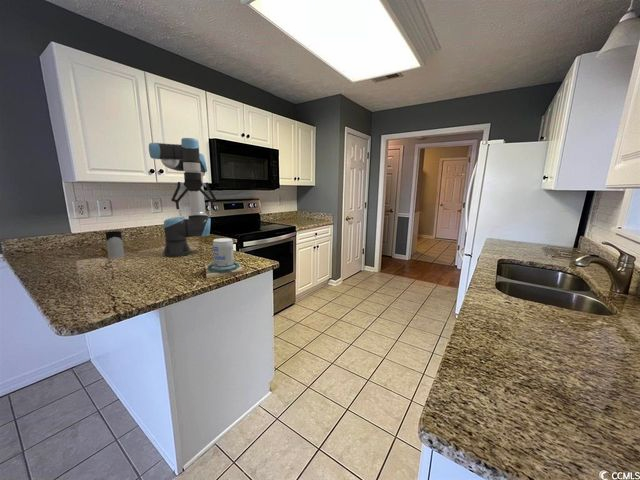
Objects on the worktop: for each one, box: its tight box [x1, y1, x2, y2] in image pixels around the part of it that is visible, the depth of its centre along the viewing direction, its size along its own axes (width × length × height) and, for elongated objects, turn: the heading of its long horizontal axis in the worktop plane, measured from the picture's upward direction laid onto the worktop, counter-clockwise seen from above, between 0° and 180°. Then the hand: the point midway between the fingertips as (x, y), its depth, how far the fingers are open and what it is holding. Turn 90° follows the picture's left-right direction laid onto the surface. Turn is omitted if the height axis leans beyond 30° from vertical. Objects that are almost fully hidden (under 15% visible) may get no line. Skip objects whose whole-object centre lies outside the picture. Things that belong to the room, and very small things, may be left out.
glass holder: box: [104, 230, 126, 259], centre depth 161 cm, size 9×14×15 cm, turn 41°
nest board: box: [204, 261, 245, 279], centre depth 135 cm, size 18×17×3 cm
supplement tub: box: [212, 237, 235, 270], centre depth 134 cm, size 10×10×15 cm
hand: (195, 215), depth 133 cm, fingers open, 13 cm apart
